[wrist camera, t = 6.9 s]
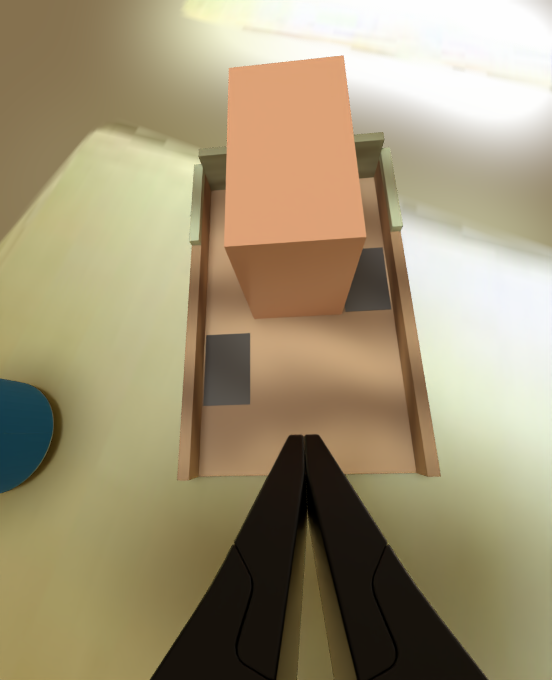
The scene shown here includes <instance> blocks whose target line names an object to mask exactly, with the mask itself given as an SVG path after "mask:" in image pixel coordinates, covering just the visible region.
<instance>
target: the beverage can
mask: <svg viewBox="0 0 552 680" xmlns="http://www.w3.org/2000/svg"><path fill="white" fill-rule="evenodd" d="M53 428H54V419H53V412H52V409H51V406H50V404H49V402H48V400H47V398H46V397H45V396H44V394H43V393H42V392H41V391H39V390H38V389H37V388H35V387H33V386H31V385H29V384H26V383H21V382H16V381H11V380H5V379H0V493H3V492H6V491H9V490H11V489H13V488H15V487H16V486H18V485H19V484H21V483H22V482H24V481H25V480H26V479H27V478H28V477H30V476H31V475H32V473H33V472H34V471H35V470H36V469H37V468H38V466H39V465H40V464H41V462H42V461H43V459H44V457H45V455H46V453H47V451H48V449H49V446H50V443H51V440H52V436H53Z"/></svg>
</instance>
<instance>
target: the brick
mask: <svg viewBox="0 0 552 680" xmlns="http://www.w3.org/2000/svg"><path fill="white" fill-rule="evenodd" d="M227 123H228V124H227V158H226V194H225V230H224V248H225V250H226V253H227V255H228V258H229V260H230V262H231V265H232V267H233V270H234V272H235V274H236V277H237V279H238V281H239V284H240V286H241V289H242V291H243V293H244V296H245V298H246V301H247V303H248V305H249V308H250V310H251V313H252V315H253V317H254V319H263V318H283V317H302V316H321V315H340V314H342V312H343V309H344V305H345V302H346V299H347V296H348V293H349V290H350V287H351V284H352V280H353V277H354V274H355V271H356V268H357V265H358V262H359V259H360V256H361V252H362V249H363V246H364V243H365V240H366V229H365V221H364V213H363V206H362V198H361V190H360V182H359V174H358V166H357V158H356V150H355V142H354V135H353V127H352V119H351V111H350V104H349V96H348V88H347V79H346V72H345V64H344V56H334V57H326V58H317V59H308V60H299V61H289V62H280V63H271V64H262V65H253V66H244V67H234V68H229V87H228V122H227Z"/></svg>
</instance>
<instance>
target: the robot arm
mask: <svg viewBox="0 0 552 680" xmlns="http://www.w3.org/2000/svg"><path fill="white" fill-rule="evenodd" d="M304 448H305V450H304ZM306 490H307V493H306ZM307 510H308V521H309V528H310V535H311V541H312V547H313V553H314V559H315V565H316V571H317V577H318V583H319V590H320V596H321V602H322V608H323V614H324V620H325V626H326V632H327V638H328V645H329V651H330V657H331V663H332V669H333V675H334V680H488V678H487V677H486V676H485V674H484V673H483V672H482V671H481V669H480V668H479V667H478V665H477V664H476V663H475V662H474V660H473V659H472V658H471V656H470V655H469V654H468V653H467V651H466V650H465V649H464V647H463V646H462V645H461V644H460V642H459V641H458V640H457V638H456V637H455V636H454V635H453V633H452V632H451V631H450V629H449V628H448V627H447V626H446V624H445V623H444V622H443V620H442V619H441V618H440V617H439V615H438V614H437V613H436V611H435V610H434V609H433V607H432V606H431V605H430V603H429V602H428V601H427V599H426V598H425V597H424V595H423V594H422V593H421V591H420V590H419V589H418V587H417V586H416V584H415V583H414V581H413V580H412V578H411V577H410V575H409V574H408V572H407V571H406V569H405V568H404V567H403V565H402V564H401V562H400V561H399V559H398V557H397V556H396V554H395V553H394V551H393V550H392V548H391V546H390V545H387V540H386V539H385V537H384V536H383V534H382V533H381V531H380V529H379V528H378V526H377V525H376V523H375V522H374V520H373V518H372V517H371V515H370V514H369V512H368V511H367V509H366V507H365V506H364V504H363V503H362V501H361V500H360V498H359V496H358V495H357V493H356V492H355V490H354V489H353V487H352V485H351V484H350V482H349V481H348V479H347V478H346V476H345V474H344V473H343V471H342V470H341V468H340V467H339V465H338V463H337V462H336V460H335V459H334V457H333V456H332V454H331V452H330V451H329V449H328V448H327V446H326V445H325V443H324V441H323V440H322V438H321V437H320V435H318V434H306V435H305V436H303V435H302V434H296V435H289V436H288V438H287V439H286V441H285V443H284V445H283V447H282V449H281V451H280V453H279V455H278V457H277V459H276V461H275V463H274V465H273V467H272V469H271V471H270V473H269V475H268V477H267V478H266V480H265V482H264V484H263V486H262V488H261V490H260V492H259V494H258V496H257V498H256V500H255V502H254V504H253V506H252V508H251V510H250V512H249V514H248V516H247V517H246V519H245V521H244V523H243V525H242V527H241V529H240V531H239V533H238V535H237V537H236V539H235V541H234V545H232V546H231V548H230V550H229V552H228V554H227V556H226V558H225V560H224V562H223V564H222V566H221V567H220V569H219V571H218V573H217V575H216V576H215V578H214V580H213V582H212V584H211V585H210V587H209V589H208V590H207V592H206V594H205V595H204V597H203V598H202V600H201V602H200V603H199V605H198V606H197V608H196V610H195V611H194V613H193V614H192V616H191V617H190V619H189V620H188V622H187V624H186V625H185V627H184V628H183V630H182V631H181V633H180V634H179V636H178V637H177V639H176V640H175V642H174V643H173V645H172V647H171V648H170V650H169V651H168V653H167V654H166V656H165V657H164V659H163V660H162V662H161V663H160V665H159V666H158V668H157V670H156V671H155V673H154V674H153V676H152V677H151V679H150V680H297V670H298V655H299V640H300V625H301V611H302V596H303V581H304V566H305V551H306V536H307Z"/></svg>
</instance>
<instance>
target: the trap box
mask: <svg viewBox="0 0 552 680" xmlns="http://www.w3.org/2000/svg"><path fill="white" fill-rule="evenodd" d="M354 142H355V150H356V158H357V166H358V174H359V182H360V190H361V198H362V206H363V213H364V221H365V229H366V240H365V243H364V246H363V249H362V252H361V256H360V259H359V262H358V265H357V268H356V271H355V274H354V277H353V280H352V284H351V287H350V290H349V293H348V296H347V299H346V302H345V305H344V309H343V312H342V314H340V315H321V316H302V317H283V318H263V319H254V317H253V315H252V313H251V310H250V308H249V305H248V303H247V301H246V298H245V296H244V293H243V291H242V289H241V286H240V284H239V281H238V279H237V277H236V274H235V272H234V270H233V267H232V265H231V262H230V260H229V258H228V255H227V253H226V250H225V248H224V230H225V194H226V158H227V147H216V148H205V149H199V159H200V162H201V164H198V165H194V177H193V192H192V207H191V222H190V237H189V241H190V243H191V245H192V253H191V269H190V285H189V301H188V316H187V332H186V348H185V364H184V380H183V396H182V412H181V428H180V444H179V460H178V476H177V480H191V479H193V478H196V477H198V476H251V475H269V473H270V471H271V469H272V467H273V465H274V463H275V461H276V459H277V457H278V455H279V453H280V451H281V449H282V447H283V445H284V443H285V441H286V439H287V438H288V436H289V435H296V434H302V435H303V436H305V435H306V434H318V435H320V437H321V438H322V440H323V441H324V443H325V445H326V446H327V448H328V449H329V451H330V452H331V454H332V456H333V457H334V459H335V460H336V462H337V463H338V465H339V467H340V468H341V470H342V471H343V473H344V474H374V473H419V474H422V475H425V476H428V477H433V476H441V475H440V469H439V462H438V456H437V450H436V444H435V438H434V432H433V426H432V420H431V414H430V408H429V402H428V396H427V390H426V383H425V377H424V371H423V365H422V359H421V353H420V347H419V341H418V335H417V329H416V323H415V317H414V311H413V304H412V298H411V292H410V286H409V280H408V274H407V268H406V262H405V256H404V250H403V244H402V238H401V229H402V227H403V223H402V217H401V211H400V205H399V199H398V194H397V188H396V182H395V176H394V170H393V164H392V158H391V152H390V148H382V146H383V143H384V134H383V132H379V133H369V134H357V135H354ZM304 450H305V448H304Z"/></svg>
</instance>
